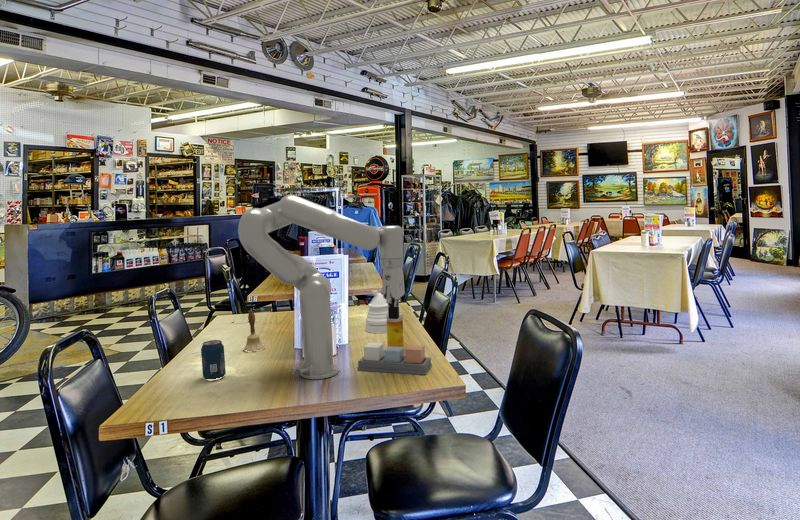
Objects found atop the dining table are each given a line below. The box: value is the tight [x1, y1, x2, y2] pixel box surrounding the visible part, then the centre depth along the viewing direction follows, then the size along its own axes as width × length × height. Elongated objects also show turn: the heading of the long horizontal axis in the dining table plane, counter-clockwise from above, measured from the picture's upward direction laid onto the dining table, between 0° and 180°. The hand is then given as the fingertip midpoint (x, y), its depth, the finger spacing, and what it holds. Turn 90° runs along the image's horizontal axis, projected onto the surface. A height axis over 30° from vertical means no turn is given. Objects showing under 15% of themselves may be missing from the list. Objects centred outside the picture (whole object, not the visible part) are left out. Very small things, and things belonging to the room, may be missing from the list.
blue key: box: [384, 346, 405, 363], centre depth 155 cm, size 5×5×4 cm
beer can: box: [386, 309, 405, 348], centre depth 175 cm, size 6×6×15 cm
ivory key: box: [363, 342, 385, 361], centre depth 157 cm, size 5×5×4 cm
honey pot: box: [365, 289, 388, 334], centre depth 208 cm, size 13×13×18 cm
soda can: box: [200, 339, 227, 380], centre depth 151 cm, size 7×7×12 cm
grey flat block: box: [357, 355, 433, 376], centre depth 155 cm, size 23×9×3 cm, turn 73°
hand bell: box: [243, 309, 265, 351], centre depth 183 cm, size 8×8×16 cm
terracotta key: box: [404, 344, 426, 364], centre depth 153 cm, size 5×5×4 cm
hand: (393, 318), depth 154 cm, fingers closed
